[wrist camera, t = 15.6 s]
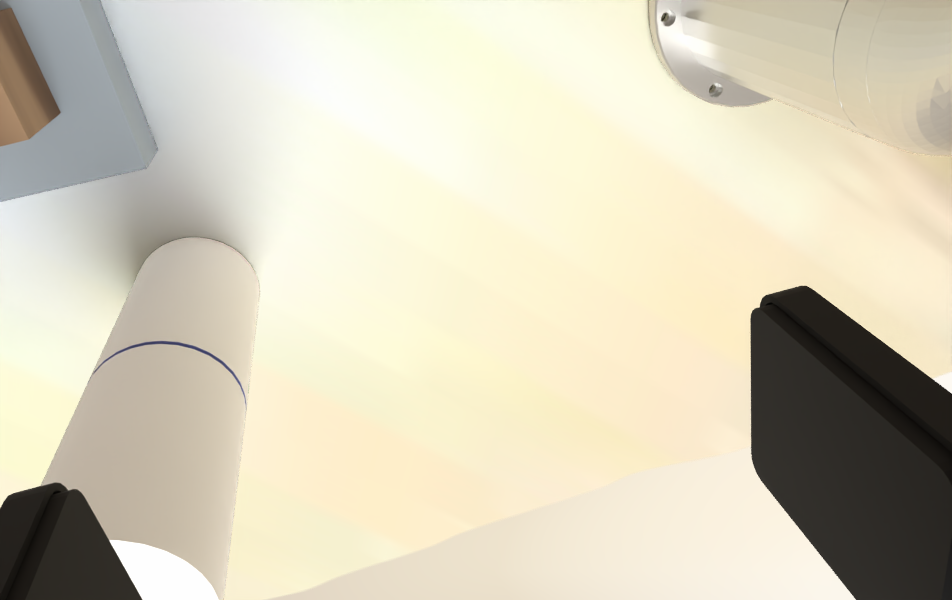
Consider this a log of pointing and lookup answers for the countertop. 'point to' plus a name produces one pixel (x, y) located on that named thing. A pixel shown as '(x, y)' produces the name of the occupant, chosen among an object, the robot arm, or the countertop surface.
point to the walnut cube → (21, 86)
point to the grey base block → (76, 102)
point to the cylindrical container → (169, 420)
